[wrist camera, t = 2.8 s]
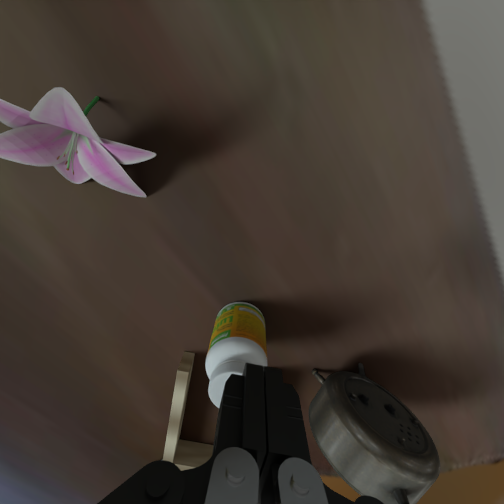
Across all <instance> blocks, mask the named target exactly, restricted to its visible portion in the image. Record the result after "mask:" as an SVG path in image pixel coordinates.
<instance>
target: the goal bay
mask: <svg viewBox="0 0 504 504" xmlns="http://www.w3.org/2000/svg"><path fill="white" fill-rule="evenodd" d="M194 356H195V353H190V352H184V354H183V357H182V360H181V362H180V365H179V368H178V370H177V376H176V382H175V388H174V395H173V401H172V407H171V413H170V419H169V425H168V431H167V438H166V444H165V450H164V456H163V460H166V461H170V462H172V463H174V464H175V465H176V466H177V467H178V468H179V469H180V470H181V471H183V470H187V469H192V468H196V467H199V466H201V465H203V464H204V463H206V462H207V461H208V460H209V459H210V458H211V456H212V452H213V445H210V444H204V443H198V442H192V441H186V440H180V439H179V438H180V432H181V427H182V421H183V416H184V410H185V405H186V400H187V394H188V389H189V383H190V378H191V372H192V367H193V361H194Z"/></svg>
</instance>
